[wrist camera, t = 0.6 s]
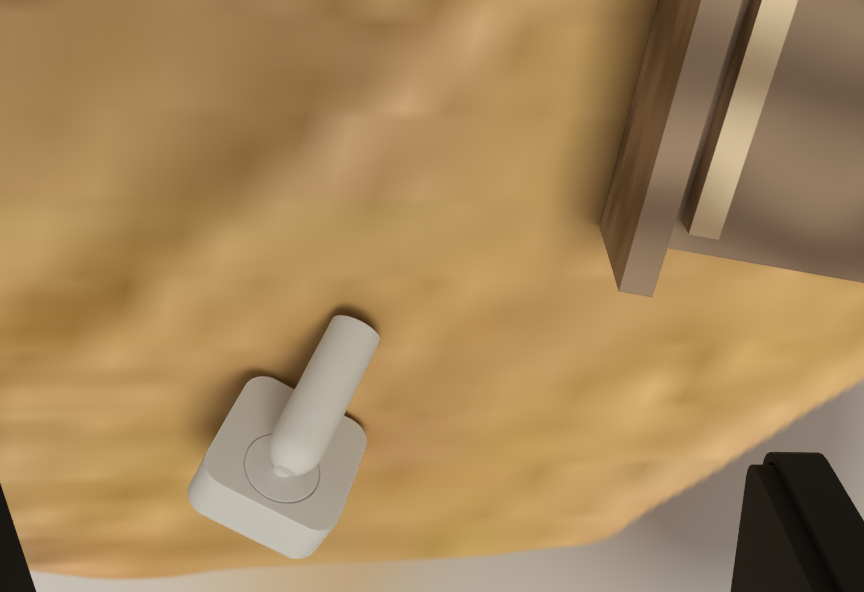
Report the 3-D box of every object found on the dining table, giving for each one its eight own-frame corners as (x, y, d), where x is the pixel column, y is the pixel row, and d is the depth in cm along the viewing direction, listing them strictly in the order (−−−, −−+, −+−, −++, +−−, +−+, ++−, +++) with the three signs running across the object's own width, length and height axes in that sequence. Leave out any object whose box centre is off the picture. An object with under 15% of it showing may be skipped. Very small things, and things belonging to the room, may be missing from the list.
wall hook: (429, 342, 46) (386, 473, 39) (358, 438, 53) (308, 568, 45) (306, 274, 45) (235, 395, 37) (248, 381, 52) (177, 503, 44)
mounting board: (711, -202, 35) (768, -240, 27) (1033, -148, 34) (1183, -170, 27) (599, 226, 43) (618, 291, 35) (856, 272, 43) (932, 347, 35)
